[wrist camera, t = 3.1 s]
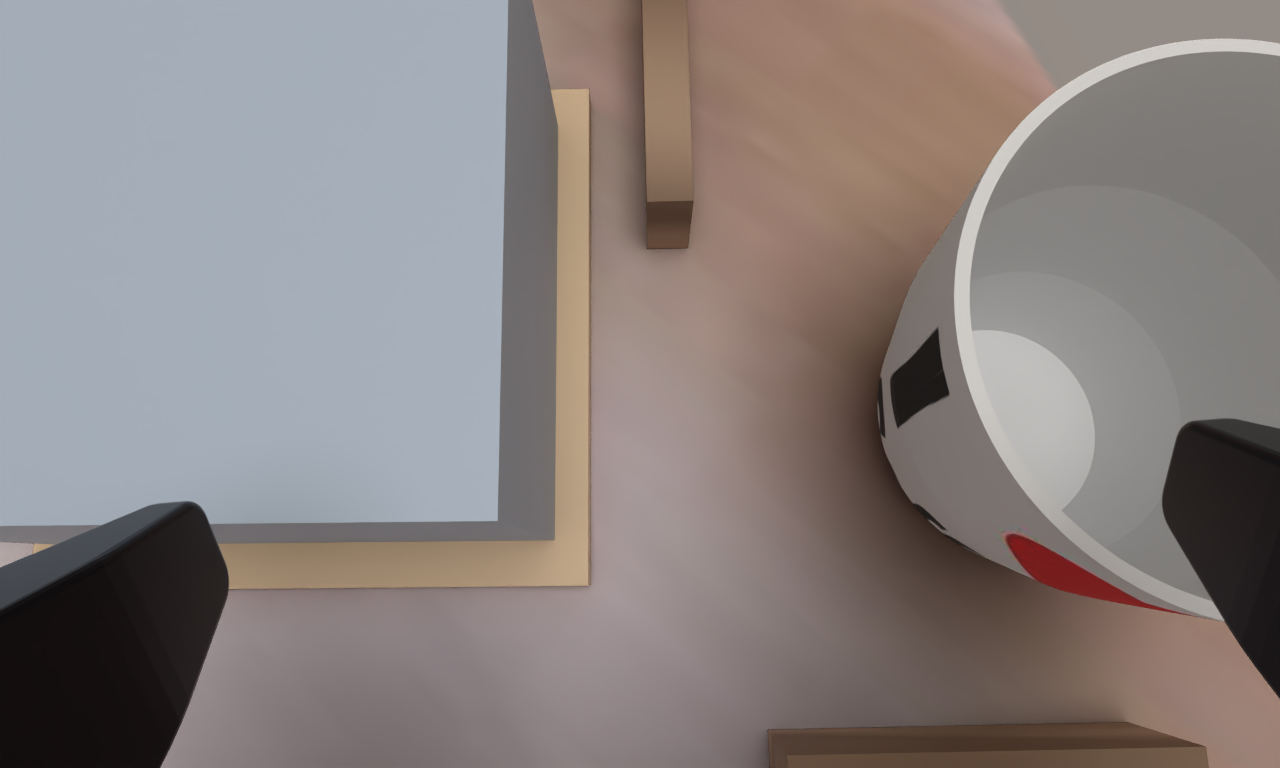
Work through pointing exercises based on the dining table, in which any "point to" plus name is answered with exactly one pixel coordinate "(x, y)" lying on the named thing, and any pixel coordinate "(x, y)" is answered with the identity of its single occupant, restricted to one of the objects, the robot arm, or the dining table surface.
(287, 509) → the tea caddy
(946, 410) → the cup
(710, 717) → the dining table surface
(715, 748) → the dining table surface
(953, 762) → the narrow slot
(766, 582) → the dining table surface
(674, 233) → the bay
